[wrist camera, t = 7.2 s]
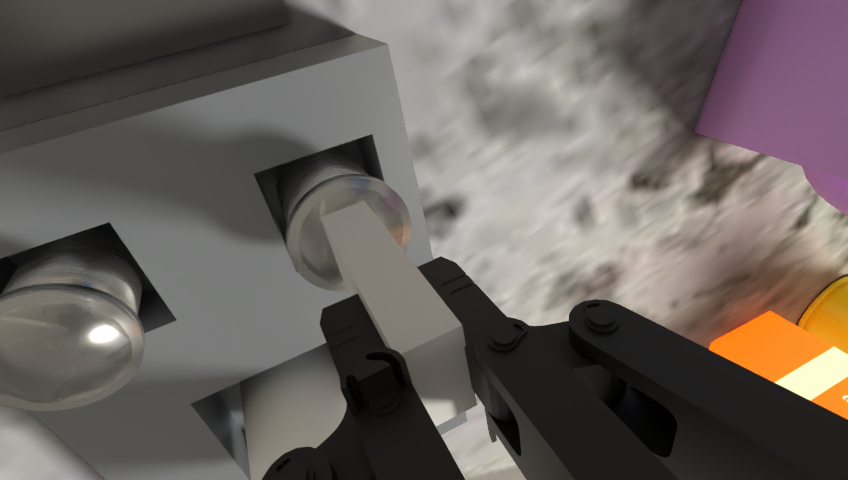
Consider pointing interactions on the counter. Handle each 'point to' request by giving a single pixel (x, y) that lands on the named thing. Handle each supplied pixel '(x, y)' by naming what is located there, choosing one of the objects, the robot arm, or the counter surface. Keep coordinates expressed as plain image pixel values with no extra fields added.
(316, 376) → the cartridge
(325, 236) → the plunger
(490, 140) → the counter surface
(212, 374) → the housing
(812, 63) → the teapot
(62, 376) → the chrome dome knob
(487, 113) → the counter surface
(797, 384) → the orange juice
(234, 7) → the mat
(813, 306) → the stacking cups
